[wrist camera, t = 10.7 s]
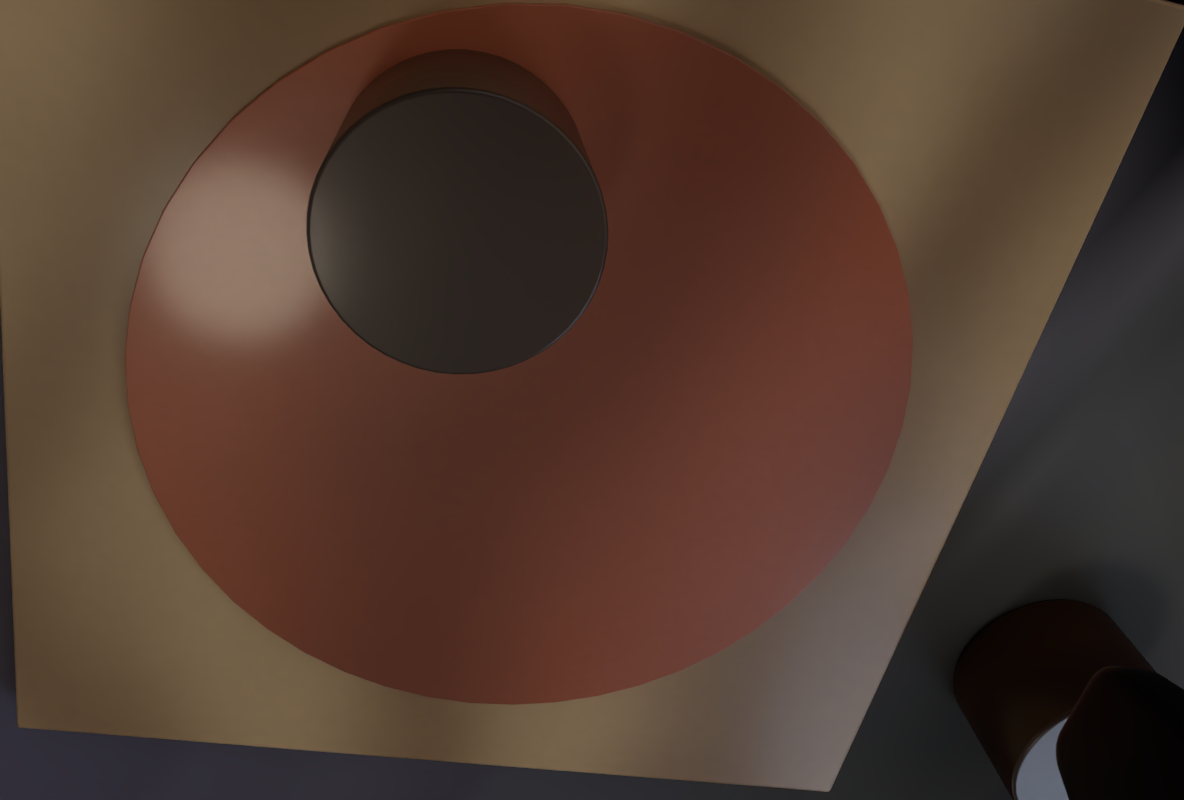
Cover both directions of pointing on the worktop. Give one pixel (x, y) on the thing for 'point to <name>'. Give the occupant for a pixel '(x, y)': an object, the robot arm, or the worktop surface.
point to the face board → (529, 372)
